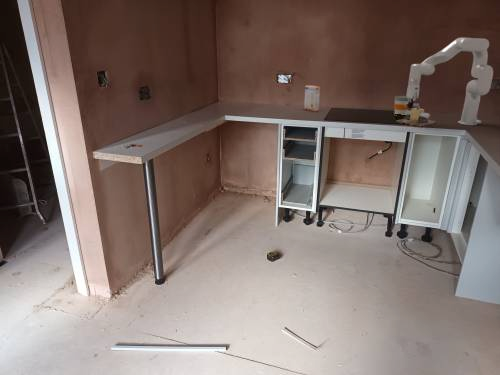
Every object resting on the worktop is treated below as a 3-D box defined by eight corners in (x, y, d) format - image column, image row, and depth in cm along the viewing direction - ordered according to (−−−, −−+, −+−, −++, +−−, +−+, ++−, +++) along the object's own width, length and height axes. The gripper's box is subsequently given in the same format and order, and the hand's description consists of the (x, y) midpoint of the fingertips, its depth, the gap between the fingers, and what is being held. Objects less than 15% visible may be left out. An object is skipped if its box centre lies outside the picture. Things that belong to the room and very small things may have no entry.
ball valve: (429, 122, 280) (431, 110, 277) (424, 123, 277) (426, 111, 274) (407, 118, 294) (409, 106, 290) (403, 119, 291) (404, 107, 287)
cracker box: (319, 111, 333) (320, 86, 325) (313, 111, 330) (315, 87, 322) (309, 108, 344) (310, 85, 336) (303, 109, 341) (304, 85, 333)
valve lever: (418, 108, 283) (419, 103, 282) (420, 108, 281) (421, 103, 279) (404, 108, 282) (405, 103, 281) (406, 109, 280) (406, 104, 278)
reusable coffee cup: (401, 116, 307) (404, 98, 301) (389, 114, 317) (391, 96, 311) (411, 115, 312) (414, 96, 307) (399, 112, 322) (401, 95, 317)
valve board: (435, 123, 284) (436, 117, 282) (420, 127, 273) (421, 120, 271) (411, 119, 299) (412, 113, 297) (396, 122, 288) (397, 116, 286)
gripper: (424, 83, 264) (419, 109, 271) (414, 80, 278) (410, 105, 285) (413, 83, 263) (409, 109, 270) (404, 80, 277) (400, 106, 284)
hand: (410, 107), depth 277 cm, fingers closed
